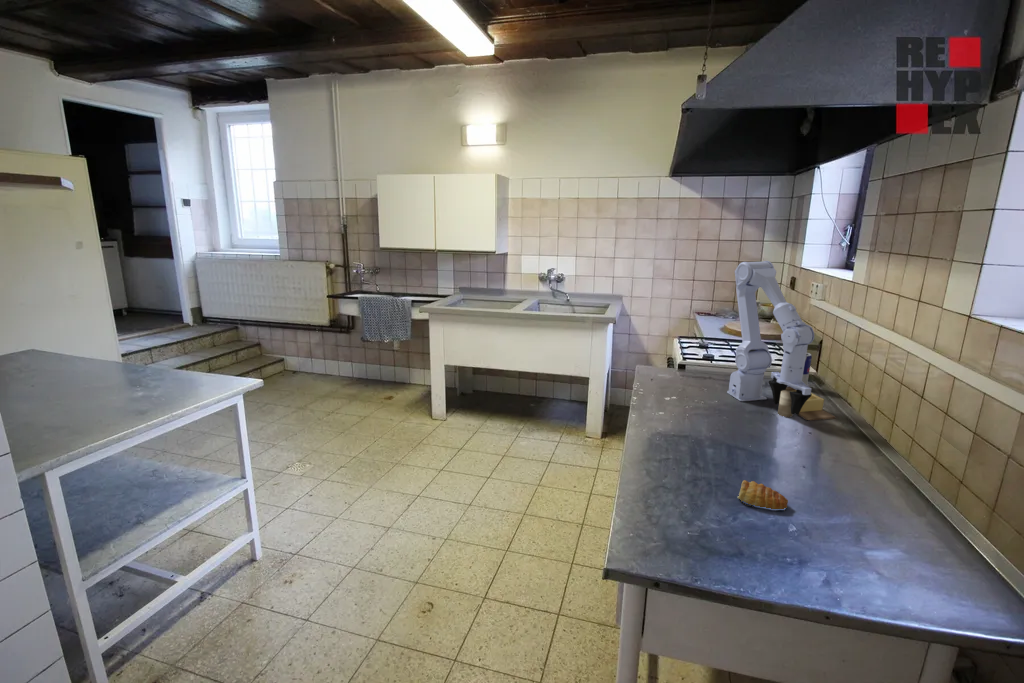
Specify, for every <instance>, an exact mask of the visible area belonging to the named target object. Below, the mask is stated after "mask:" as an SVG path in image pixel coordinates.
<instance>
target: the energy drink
mask: <svg viewBox="0 0 1024 683" xmlns="http://www.w3.org/2000/svg"><path fill="white" fill-rule="evenodd" d="M811 363H812V354H811V353H810V352H807V353H806V359H805V365H804V371H803V377H802V381H803V382H804V383H805V384H806V385H807V386H808V384H809V383H808V382H809V375H810V370H811V365H812V364H811Z"/></svg>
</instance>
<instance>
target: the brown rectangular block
mask: <svg viewBox="0 0 1024 683" xmlns="http://www.w3.org/2000/svg"><path fill="white" fill-rule="evenodd" d="M786 390H787V391H796V389H794V388H792V387H790V386H787V387H786ZM796 416H799V417H801V418H802V417H803V418H802V419H804V420H806V421H807V420H810V421H819V420H820V421H822V420H821V419H823V420H833V419H836V416H835V415H833V414H832V413H830V412H827V411H825V410H823V409H822V410H818V411H805V412H799V414H796Z"/></svg>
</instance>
